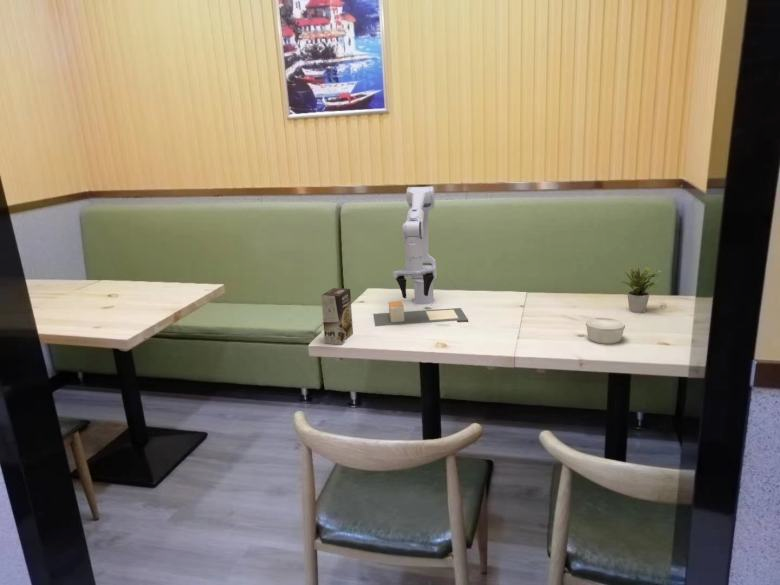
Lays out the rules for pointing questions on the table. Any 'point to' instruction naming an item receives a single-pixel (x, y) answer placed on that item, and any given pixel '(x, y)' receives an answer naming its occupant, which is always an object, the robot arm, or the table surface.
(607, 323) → the ramekin
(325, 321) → the coffee box
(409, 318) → the mat
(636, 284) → the house plant
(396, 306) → the card box
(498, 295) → the table surface
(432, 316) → the pad
